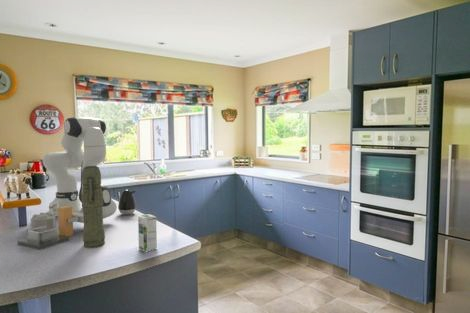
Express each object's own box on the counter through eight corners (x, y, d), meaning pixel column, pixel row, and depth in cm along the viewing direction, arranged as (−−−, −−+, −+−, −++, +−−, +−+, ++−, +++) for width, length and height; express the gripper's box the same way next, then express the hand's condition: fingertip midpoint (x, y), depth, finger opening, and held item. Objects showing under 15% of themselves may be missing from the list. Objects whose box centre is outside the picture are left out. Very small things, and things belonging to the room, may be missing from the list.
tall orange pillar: (59, 236, 157) (57, 207, 156) (67, 233, 161) (66, 205, 160) (64, 237, 155) (63, 208, 154) (73, 234, 159) (72, 206, 158)
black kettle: (136, 215, 197) (136, 190, 196) (118, 216, 193) (117, 191, 192) (135, 211, 207) (134, 187, 206) (118, 213, 203) (117, 188, 202)
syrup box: (138, 249, 138) (137, 215, 137) (150, 246, 142) (149, 213, 141) (145, 253, 133) (143, 218, 132) (157, 249, 138) (156, 215, 137)
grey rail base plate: (48, 235, 159) (47, 223, 158) (69, 240, 151) (68, 227, 151) (17, 244, 146) (17, 230, 146) (39, 249, 139) (38, 235, 138)
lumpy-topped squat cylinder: (29, 234, 160) (28, 217, 160) (35, 227, 172) (34, 211, 172) (53, 232, 164) (52, 215, 163) (57, 225, 176) (56, 209, 175)
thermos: (104, 239, 152) (101, 164, 149) (105, 247, 141) (102, 167, 139) (83, 242, 148) (80, 165, 146) (83, 250, 137) (79, 168, 135)
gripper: (75, 206, 174) (50, 211, 162) (101, 209, 164) (77, 215, 152) (75, 217, 174) (50, 224, 162) (102, 222, 165) (77, 229, 153)
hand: (63, 220), depth 157 cm, fingers closed on tall orange pillar, 4 cm apart
